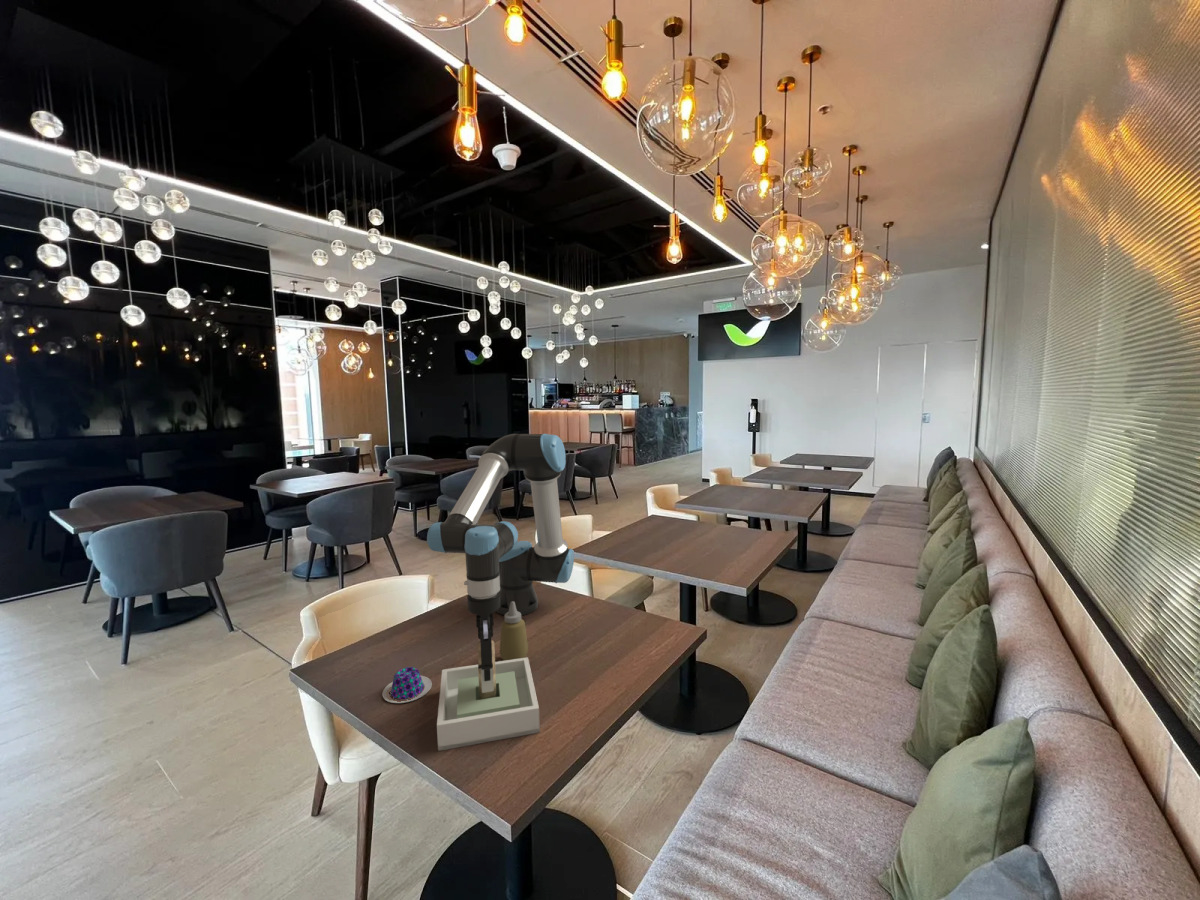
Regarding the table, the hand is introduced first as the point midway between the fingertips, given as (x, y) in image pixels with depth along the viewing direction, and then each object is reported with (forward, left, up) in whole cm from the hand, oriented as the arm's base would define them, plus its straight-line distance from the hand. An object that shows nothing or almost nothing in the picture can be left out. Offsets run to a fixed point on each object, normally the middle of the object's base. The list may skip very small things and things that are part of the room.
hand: (487, 685), depth 119 cm
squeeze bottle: (-20, +8, -7) cm, 23 cm away
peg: (0, 0, -3) cm, 3 cm away
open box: (0, 0, -7) cm, 7 cm away
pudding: (-14, -20, -7) cm, 26 cm away
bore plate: (0, 0, -7) cm, 7 cm away
